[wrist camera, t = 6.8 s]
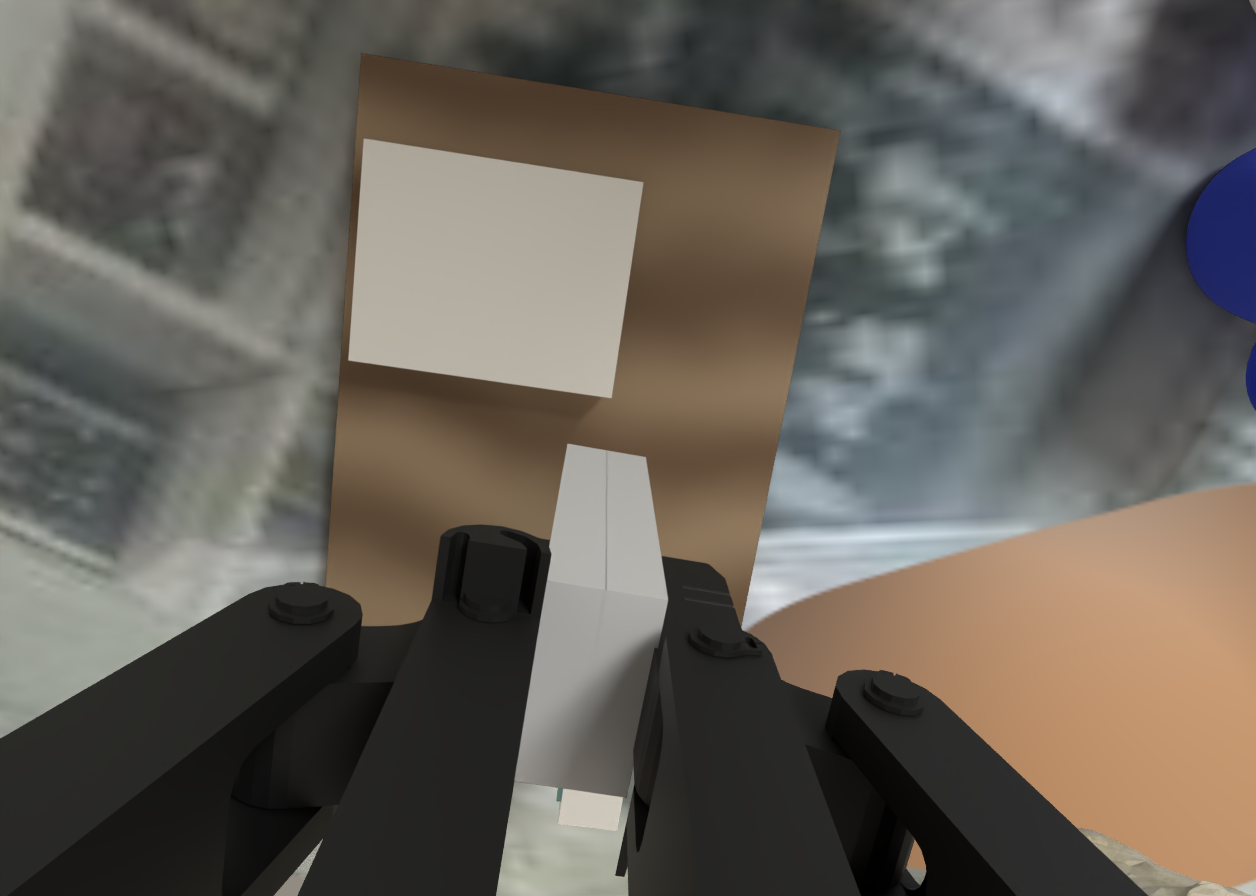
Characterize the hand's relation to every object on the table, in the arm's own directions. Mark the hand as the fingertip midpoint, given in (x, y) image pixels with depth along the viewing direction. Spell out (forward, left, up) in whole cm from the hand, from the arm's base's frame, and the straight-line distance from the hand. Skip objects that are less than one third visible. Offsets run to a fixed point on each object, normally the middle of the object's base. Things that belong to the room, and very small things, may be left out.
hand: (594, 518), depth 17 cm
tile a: (-3, 0, -19) cm, 19 cm away
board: (+3, -1, -21) cm, 21 cm away
